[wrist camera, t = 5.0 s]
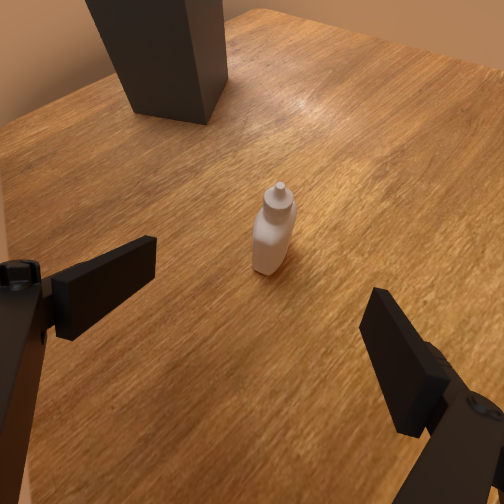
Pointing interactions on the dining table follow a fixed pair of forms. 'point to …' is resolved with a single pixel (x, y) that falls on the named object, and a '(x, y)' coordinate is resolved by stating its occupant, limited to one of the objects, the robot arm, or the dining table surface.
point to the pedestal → (166, 54)
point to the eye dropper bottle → (273, 229)
